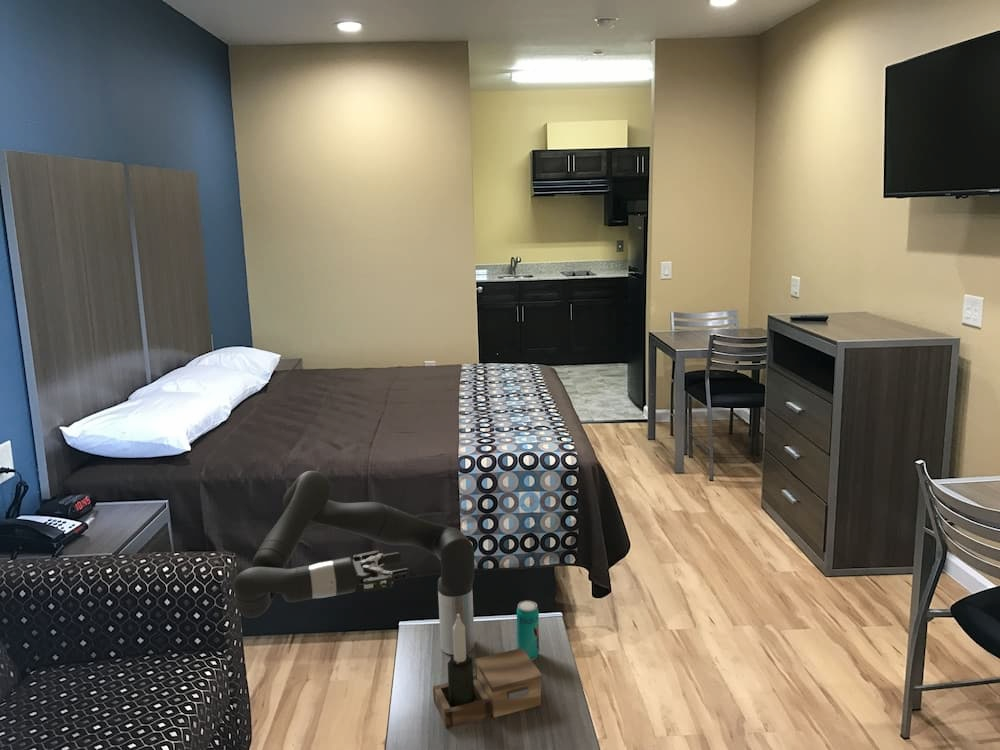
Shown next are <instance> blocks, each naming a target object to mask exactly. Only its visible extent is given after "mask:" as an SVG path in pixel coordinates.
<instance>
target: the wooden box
mask: <svg viewBox="0 0 1000 750" xmlns="http://www.w3.org/2000/svg"><path fill="white" fill-rule="evenodd" d="M474 662H475V666H476V672H477V673H476V675H473V684H474V702H471V703H468V704H464V705H460V706H456V707H452V708H450V706H449V684H448V682H445V683H442V684H441V683H440V684H438V685H437V684H436V685H433V686H432V692H433V702H434V705H435V707H436V708H437V710H438V713H439V715H440V717H441V720H442V722H443V724H444V726H445V728H446V729H450V728H454V727H458V726H462V725H466V724H468V723H473V722H477V721H481V720H484V719H488V718H491V717H492V716H493V718H498V717H502V716H506V715H508V714H509V715H510V714H513V713H517V712H520V711H525V710H528V709H531V708H536V707H541V705H542V696H541V695H542V692H541V691H542V687H541V686H542V683H541V682H542V681H543V675H542V673H541V671H540V670H539V669H538V668H537V666H536V664H535V663H534V661H532V660H531V659H530V658H529V656H528V655H527V654H526V652H525V651H524V649H523V648H519V649H517V648H515V649H512V650H511V649H510V650H508V651H503V652H498V653H495V654H490V655H486V656H481V657H477V658H475V659H474Z"/></svg>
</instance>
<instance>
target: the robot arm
mask: <svg viewBox="0 0 1000 750" xmlns="http://www.w3.org/2000/svg"><path fill="white" fill-rule="evenodd" d="M332 489H333V488H332V483H331V481H330V480H329V478H328V477H327V476H326V474H324V473H322V472H319V471H317V470H308V471H305V472H303V473H301V474H300V475H299V476H298V477H297V478H296V479H295V481H294V482H293V483H292V485H290V486H289V488H288V489H287V491H286V492H285V494H284V495H283V498H282V504H283V507H284V509H285V510H284V512H283V513H282V515H281V516H280V518H279V519H278V520H277V522H276V523H275V524H274V525H273V527H272V528H271V530H270V531H269V532H268V534H267V535H266V537H265V539H264V540H263V541H262V543H261V544H260V547H258V550H257V551H256V553H255V555H254V557H253V558H252V562H251V567H249V568H246V569H244V570H242V571H241V572H239V573H238V574H237V575H236V576H235V578H234V581H233V592H234V602H235V607H236V610H237V612H238V613H239V614H240V615H241V616H243V617H244V618H248V619H252V618H253V619H254V618H257V617H259V616H261V615H263V614H265V612H266V611H267V610H268V609H269V607H270V606H271V604H272V602H273V600H274V597H275V595H276V594H281V595H282V597H283V599H284V601H285V602H287V603H296V602H302V601H307V600H313V599H324V598H328V597H329V598H330V597H334V596H340V595H346V594H349V593H354V592H355V591H356V590H357V587H358V585H359V586H361V585H363V591H364V592H365V593H366V592H367V593H368V592H369V593H370V592H375V591H380V590H386V589H392V588H393V584H394V582H397V581H402V580H407V579H408V580H409V579H410V577H411V570H410V569H409V568H408V567H405V568H399V569H394V570H385V569H384V568H383V567H382V566H384V565H390V564H396V563H397V564H398V563H400V562H401V561H402V553H400V552H399V551H397V552H390V553H385V554H384V553H383V552H381V553H380V551H379V550H373V551H367V552H363V553H359V554H354V555H353V556H352V557H350V556H347V557H341V558H335V559H330V560H324V561H320V562H319V561H318V562H316V563H313V564H309V565H304V566H298V567H292V568H286V567H287V565H288V564H289V561H290V560H291V558H292V556H293V554H294V553H295V550H296V548H297V547H298V545H299V543H300V541H301V539H302V536H303V534H304V533H305V531H306V529H307V527H308V526H309V524H310V523H314V524H319V525H323V526H326V527H327V526H328V527H331V528H336V529H339V530H343V531H346V532H349V533H352V534H355V535H359V536H362V537H364V538H366V539H369V540H372V541H376V542H378V543H382V544H385V545H388V546H390V545H391V546H411V547H412V546H413V547H416V548H418V549H419V548H420V549H422V550H423V551H424V550H425V551H426V552H428V553H431V554H432V555H434V556H435V557H437V559H438V560H439V561H440V573H441V575H440V576H439V577H438V580H437V596H438V598H437V599H438V617H439V636H440V638H439V639H440V649H441V651H442V652H443V653H445V654H446V655H452V656H453V655H454V649H453V626H454V624H455V622H456V619H457V614H460V619H461V621H462V623H463V624H464V626H465V640H466V654H468V653H470V652H472V651H473V649H474V648H475V632H474V631H475V626H474V621H475V619H474V599H473V596H474V595H473V583H474V580H475V548H474V545H473V544H472V542H471V541H470V540H469V538H468V537H467V536H466V534H464V533H463V531H461V530H459V529H458V528H455V527H451V526H448V525H443V524H439V523H435V522H430V521H428V520H424V519H421V518H419V517H418V516H416V515H415V516H414V515H412V514H410V513H408V512H405V511H403V510H400V509H399V508H398V509H397V508H395V507H393V506H390V505H387V504H384V503H381V502H376V501H365V502H364V501H361V502H340V501H339V502H338V501H334V500H331V499H330V497H331V495H332V491H333V490H332ZM352 558H353V559H352Z"/></svg>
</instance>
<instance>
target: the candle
mask: <svg viewBox="0 0 1000 750" xmlns="http://www.w3.org/2000/svg"><path fill="white" fill-rule="evenodd" d="M453 649H454V655H452V656H450V659H449V660H448V662H447V676H448V677H447V679H448V682H447V683H448V684H449V701H448V704H449V706H450V708H452V707H456V706H460V705H464V704H468V703H471V702H475V699H474V684H473V677H474V665H473V664H474V662H473V661H474V660H473V657H472V656H469V654H468V653H466V640H465V626H464V624H463V623H462V621H461V619H460V614H457V619H456V622H455V624H454V626H453Z"/></svg>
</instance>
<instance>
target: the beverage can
mask: <svg viewBox="0 0 1000 750" xmlns="http://www.w3.org/2000/svg"><path fill="white" fill-rule="evenodd" d="M539 612H540V611H539V608H538V604H537V602H535V601H532V600H523V601H520V602H519V603H518V604H517V608H516V639H517V641H516V642H517V643H516V644H517V647H516V649H519V648H523V649H524V651H525V652H526V654H527V655H528V656H529V658H530V659H531V660H532V662H534V661H536V659H537V658H538V655H539V653H540V628H539V627H540V625H539V623H540V622H539V621H540V620H539V617H540V614H539Z"/></svg>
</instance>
